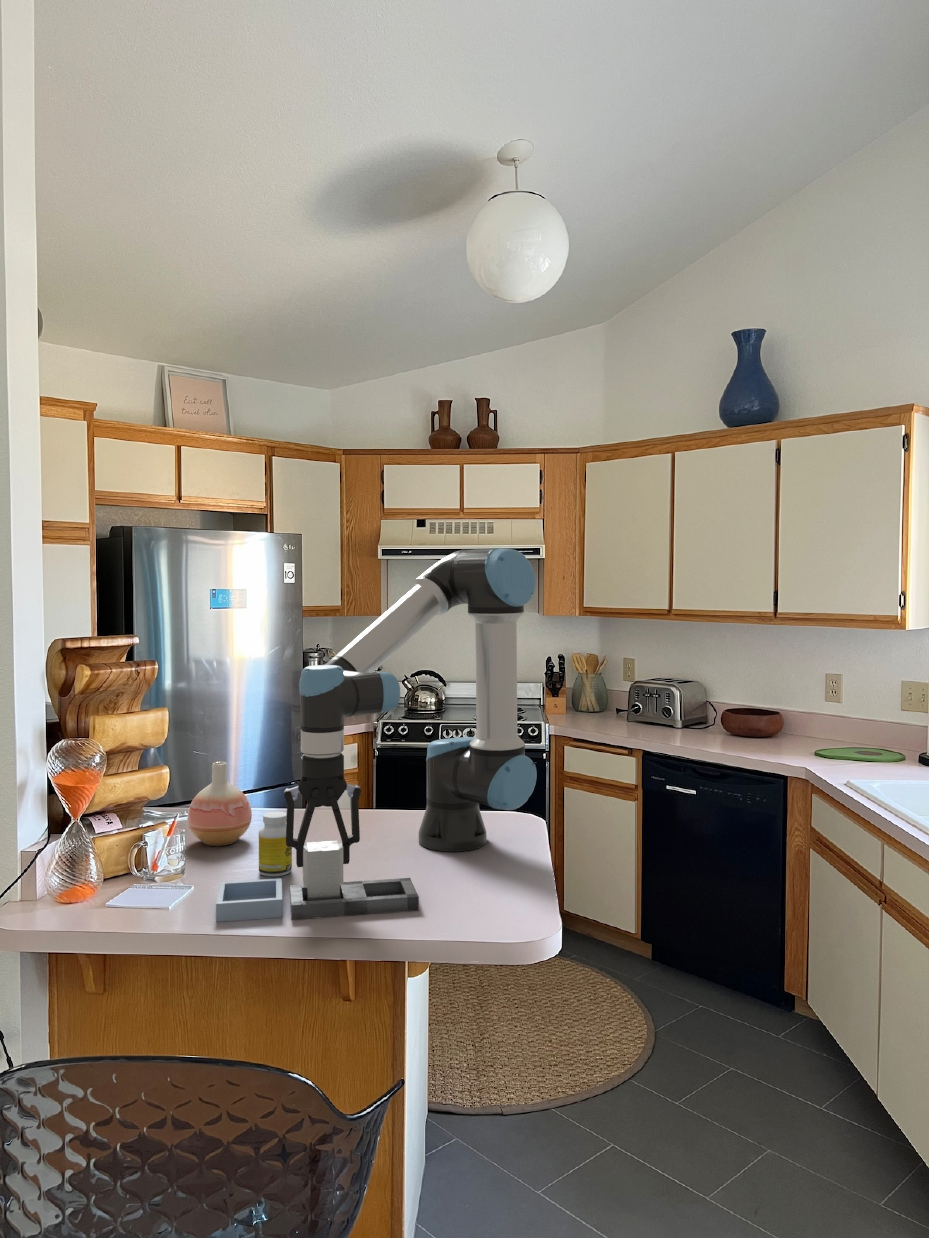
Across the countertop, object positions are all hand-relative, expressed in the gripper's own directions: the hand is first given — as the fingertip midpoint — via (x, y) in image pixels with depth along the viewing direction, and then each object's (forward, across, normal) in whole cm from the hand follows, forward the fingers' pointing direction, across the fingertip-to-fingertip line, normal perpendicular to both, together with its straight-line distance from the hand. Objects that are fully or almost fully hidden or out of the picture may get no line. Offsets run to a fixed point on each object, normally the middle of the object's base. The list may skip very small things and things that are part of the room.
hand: (323, 882), depth 157 cm
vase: (+5, +20, -43) cm, 48 cm away
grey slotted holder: (+4, -5, 0) cm, 7 cm away
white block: (+3, 0, 0) cm, 3 cm away
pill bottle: (+5, +8, -20) cm, 23 cm away
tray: (+4, +13, -2) cm, 14 cm away
